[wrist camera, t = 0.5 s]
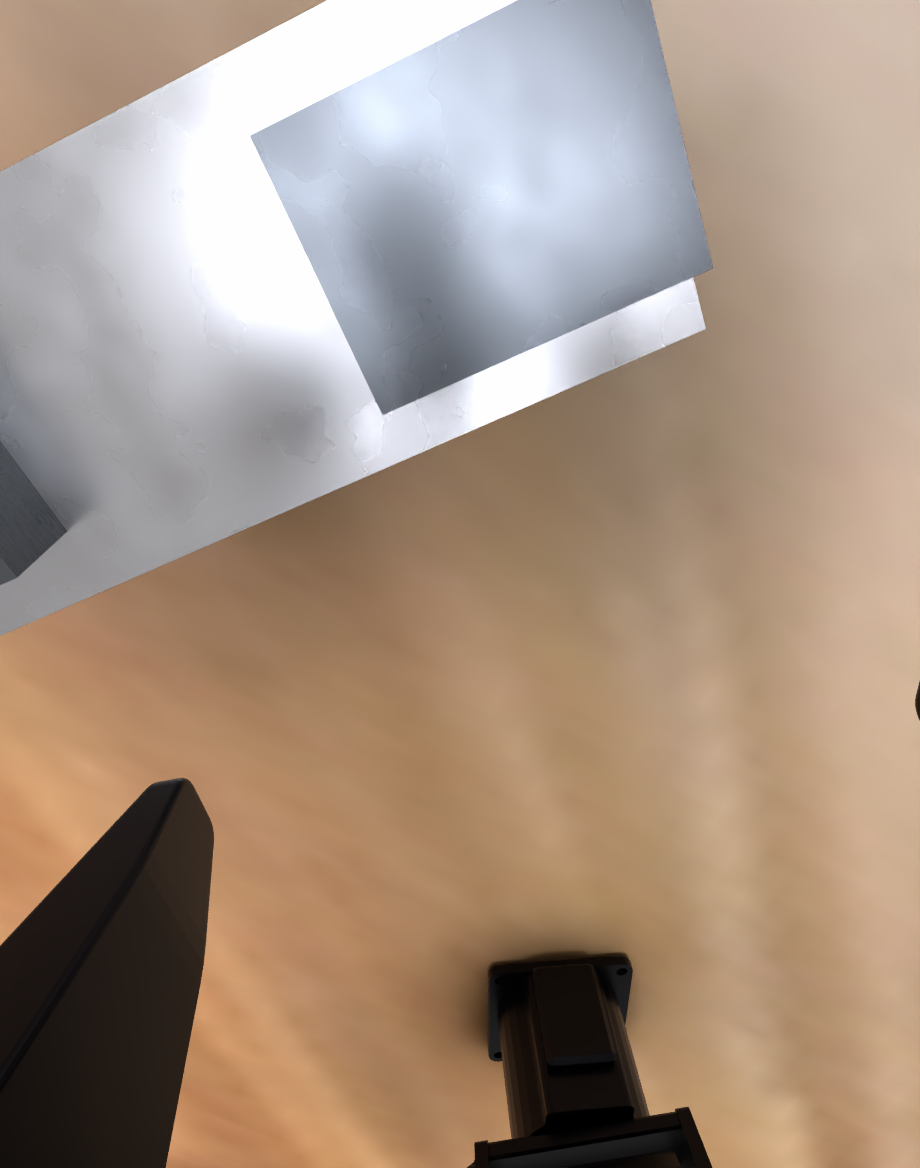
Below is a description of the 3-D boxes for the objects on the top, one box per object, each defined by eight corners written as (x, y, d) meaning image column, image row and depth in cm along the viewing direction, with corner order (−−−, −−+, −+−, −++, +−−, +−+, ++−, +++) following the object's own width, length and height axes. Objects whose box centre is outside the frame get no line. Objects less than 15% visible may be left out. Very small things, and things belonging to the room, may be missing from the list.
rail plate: (686, 321, 21) (754, 345, 17) (-97, 664, 24) (-198, 754, 20) (575, -108, 16) (631, -216, 12) (-366, 381, 19) (-566, 422, 15)
